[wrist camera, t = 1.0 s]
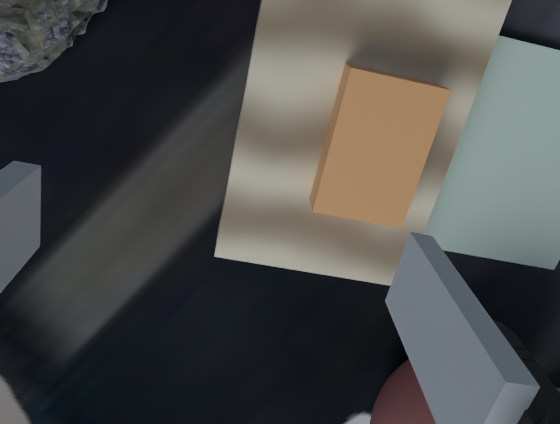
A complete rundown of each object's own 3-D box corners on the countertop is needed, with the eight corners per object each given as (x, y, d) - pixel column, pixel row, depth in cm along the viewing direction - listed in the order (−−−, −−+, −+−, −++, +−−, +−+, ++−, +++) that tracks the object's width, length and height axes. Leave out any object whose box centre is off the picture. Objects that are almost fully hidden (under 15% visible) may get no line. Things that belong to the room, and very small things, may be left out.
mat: (478, 30, 32) (482, 31, 32) (649, 72, 34) (655, 73, 33) (402, 239, 38) (404, 243, 38) (550, 266, 40) (554, 269, 40)
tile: (345, 62, 29) (351, 67, 27) (439, 84, 29) (451, 90, 28) (309, 199, 32) (312, 212, 30) (394, 215, 33) (401, 228, 31)
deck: (271, -57, 29) (274, -64, 26) (482, -4, 31) (512, -3, 28) (218, 230, 37) (214, 256, 34) (389, 260, 39) (403, 287, 36)
